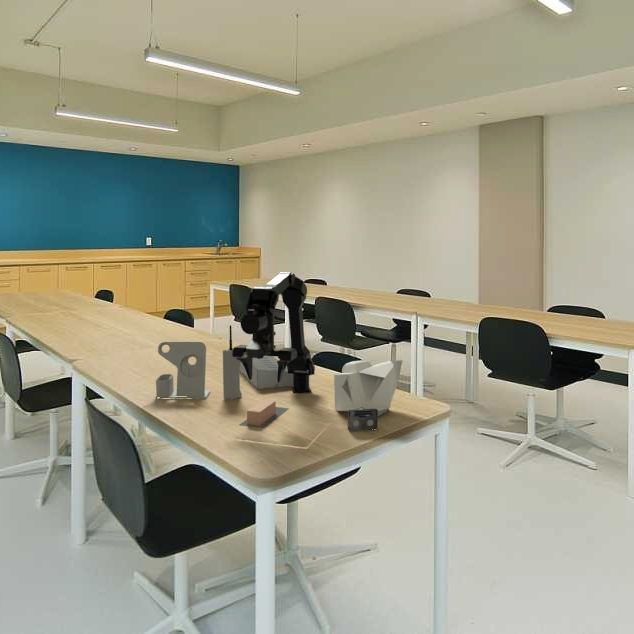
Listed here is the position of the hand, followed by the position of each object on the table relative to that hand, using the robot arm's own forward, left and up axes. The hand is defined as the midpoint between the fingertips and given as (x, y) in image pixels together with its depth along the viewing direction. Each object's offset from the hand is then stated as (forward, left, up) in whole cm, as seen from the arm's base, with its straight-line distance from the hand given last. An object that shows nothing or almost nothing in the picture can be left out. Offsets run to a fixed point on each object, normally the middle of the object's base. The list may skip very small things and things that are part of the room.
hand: (264, 381), depth 169 cm
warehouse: (-50, +2, -12) cm, 51 cm away
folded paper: (-2, +35, -12) cm, 37 cm away
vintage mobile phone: (-22, -10, -12) cm, 27 cm away
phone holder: (-28, -27, -12) cm, 41 cm away
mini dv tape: (+14, +27, -12) cm, 33 cm away
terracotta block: (-3, +2, -9) cm, 10 cm away
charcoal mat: (0, 0, -11) cm, 11 cm away
